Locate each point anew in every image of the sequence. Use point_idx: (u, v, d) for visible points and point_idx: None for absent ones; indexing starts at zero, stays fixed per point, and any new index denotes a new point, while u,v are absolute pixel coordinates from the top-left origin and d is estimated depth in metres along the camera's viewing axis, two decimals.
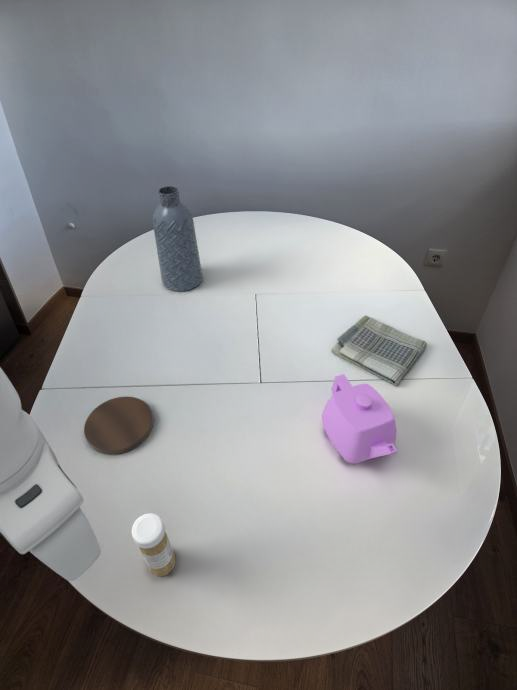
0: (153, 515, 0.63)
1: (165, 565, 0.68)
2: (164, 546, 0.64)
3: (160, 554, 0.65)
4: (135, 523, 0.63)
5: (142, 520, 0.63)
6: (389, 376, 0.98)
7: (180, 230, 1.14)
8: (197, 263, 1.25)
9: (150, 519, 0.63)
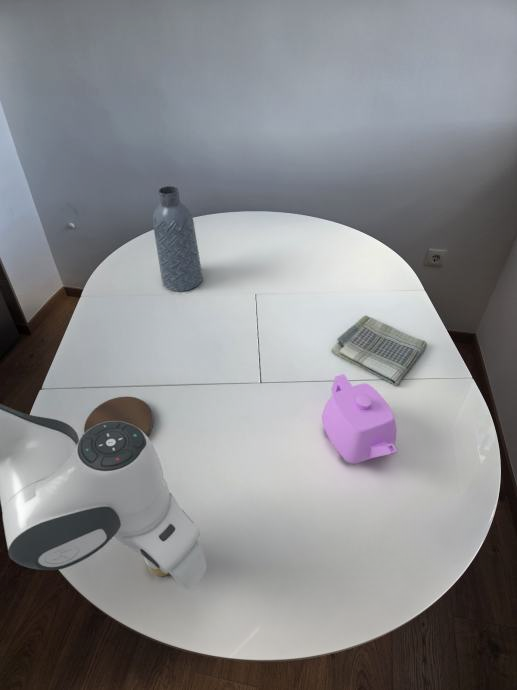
0: None
1: None
2: None
3: None
4: None
5: None
6: (389, 376, 0.98)
7: (180, 230, 1.14)
8: (197, 263, 1.25)
9: None
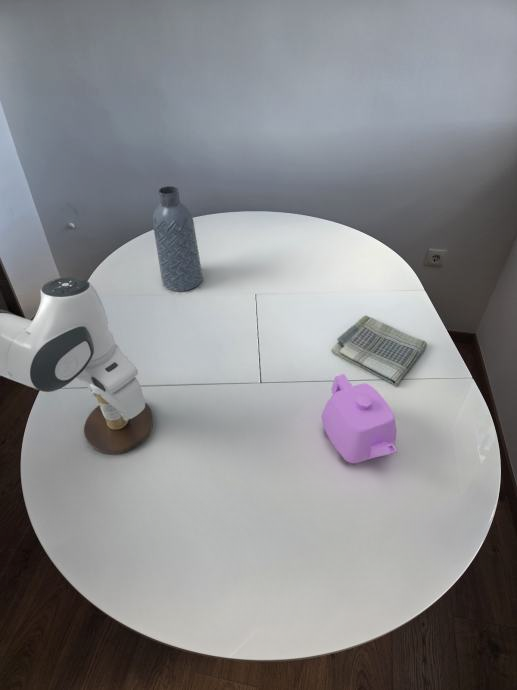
0: None
1: (119, 418, 0.87)
2: None
3: None
4: None
5: None
6: (389, 376, 0.98)
7: (180, 230, 1.14)
8: (197, 263, 1.25)
9: None
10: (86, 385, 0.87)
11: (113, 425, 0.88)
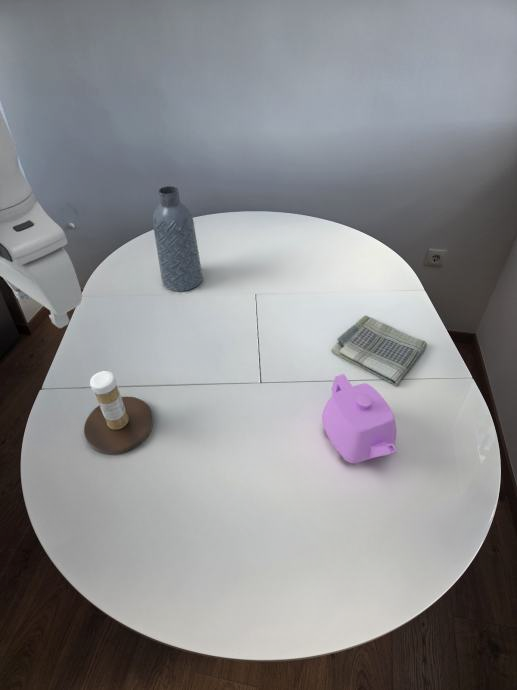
0: (107, 372, 0.83)
1: (119, 418, 0.87)
2: (116, 397, 0.84)
3: (113, 404, 0.84)
4: (93, 376, 0.82)
5: (98, 375, 0.82)
6: (389, 376, 0.98)
7: (180, 230, 1.14)
8: (197, 263, 1.25)
9: (104, 374, 0.82)
10: (7, 282, 0.61)
11: (113, 425, 0.88)
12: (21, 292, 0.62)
